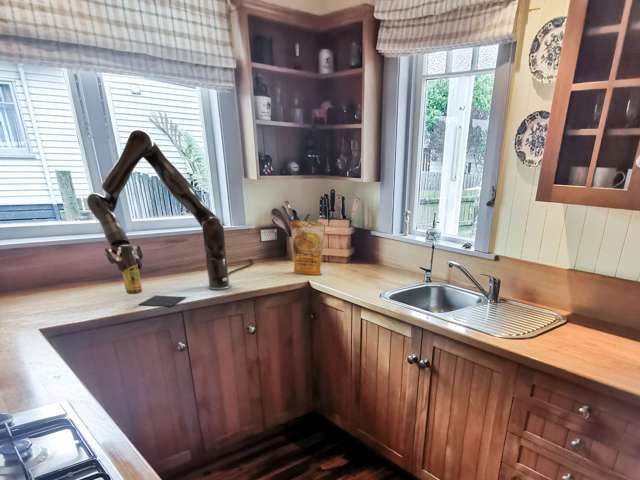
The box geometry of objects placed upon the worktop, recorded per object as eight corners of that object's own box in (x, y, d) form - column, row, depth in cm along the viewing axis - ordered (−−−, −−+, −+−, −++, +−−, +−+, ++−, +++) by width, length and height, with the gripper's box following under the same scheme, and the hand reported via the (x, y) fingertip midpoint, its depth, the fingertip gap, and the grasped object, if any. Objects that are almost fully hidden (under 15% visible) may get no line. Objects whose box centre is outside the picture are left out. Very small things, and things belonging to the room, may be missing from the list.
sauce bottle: (136, 295, 195) (126, 247, 186) (123, 294, 196) (112, 246, 187) (146, 291, 200) (137, 244, 192) (133, 290, 201) (123, 243, 193)
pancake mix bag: (294, 270, 266) (292, 219, 254) (326, 273, 261) (325, 221, 250) (289, 273, 260) (287, 220, 248) (321, 276, 256) (320, 223, 244)
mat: (155, 296, 210) (155, 295, 210) (185, 297, 209) (185, 297, 209) (139, 305, 197) (139, 304, 197) (171, 306, 197) (171, 305, 197)
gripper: (97, 231, 188) (113, 266, 185) (135, 229, 197) (150, 261, 194) (96, 243, 193) (112, 277, 191) (132, 240, 202) (148, 272, 200)
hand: (131, 269), depth 193 cm, fingers closed on sauce bottle, 6 cm apart
